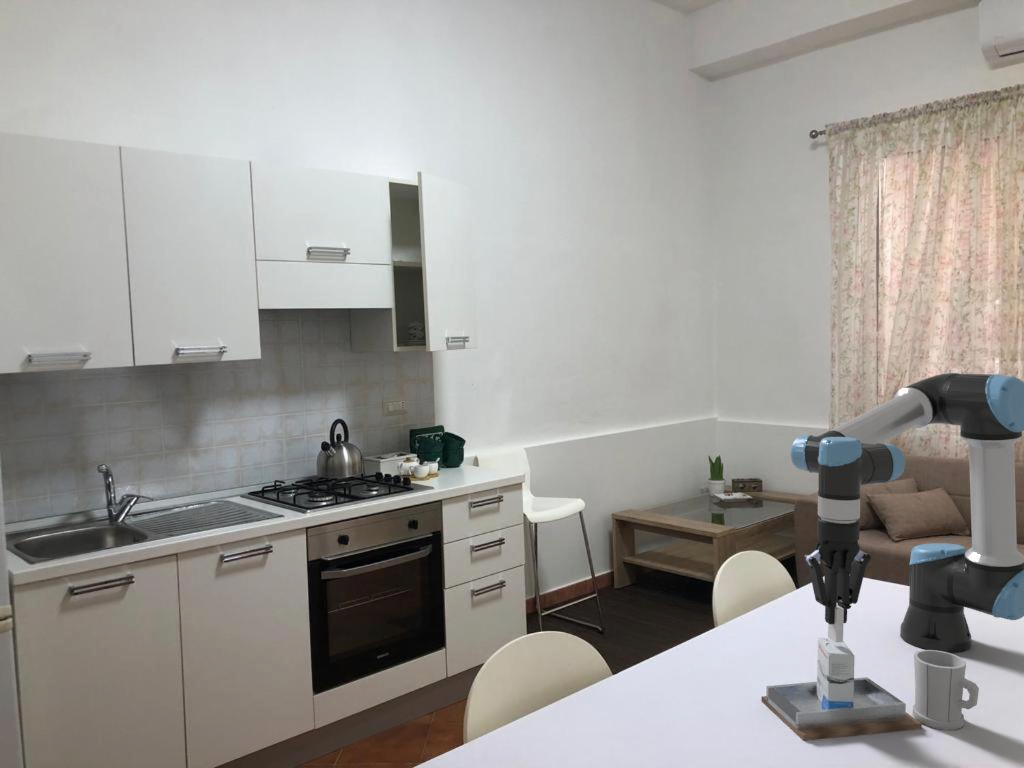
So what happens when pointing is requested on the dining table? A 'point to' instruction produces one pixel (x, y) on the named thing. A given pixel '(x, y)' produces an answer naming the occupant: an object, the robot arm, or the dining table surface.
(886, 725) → the panel
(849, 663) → the ink box
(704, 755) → the dining table surface
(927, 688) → the cup
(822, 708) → the metal serving tray
